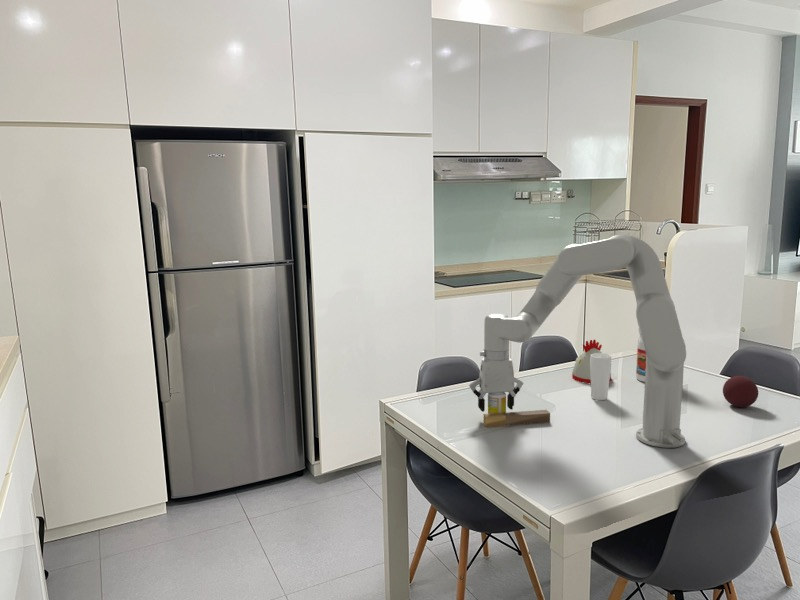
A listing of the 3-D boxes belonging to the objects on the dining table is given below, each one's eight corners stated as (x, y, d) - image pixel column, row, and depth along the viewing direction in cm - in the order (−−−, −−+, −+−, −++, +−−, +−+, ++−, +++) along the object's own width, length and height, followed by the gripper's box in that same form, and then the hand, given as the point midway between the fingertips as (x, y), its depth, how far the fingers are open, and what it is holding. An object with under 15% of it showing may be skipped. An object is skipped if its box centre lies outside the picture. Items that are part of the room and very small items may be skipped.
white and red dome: (564, 375, 229) (565, 337, 226) (594, 371, 234) (595, 334, 231) (588, 385, 216) (589, 345, 214) (618, 381, 221) (620, 341, 218)
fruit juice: (664, 378, 224) (668, 304, 219) (662, 384, 216) (666, 308, 211) (637, 375, 228) (641, 302, 224) (634, 381, 220) (638, 307, 215)
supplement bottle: (503, 414, 188) (503, 383, 186) (507, 421, 183) (508, 389, 181) (486, 415, 188) (486, 384, 186) (489, 421, 182) (490, 389, 181)
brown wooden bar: (550, 422, 181) (550, 413, 180) (486, 427, 178) (486, 417, 178) (546, 419, 184) (546, 409, 183) (483, 423, 181) (483, 414, 181)
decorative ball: (749, 414, 185) (752, 383, 184) (716, 406, 193) (718, 376, 191) (762, 406, 192) (764, 376, 190) (729, 399, 199) (731, 370, 198)
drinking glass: (607, 395, 205) (608, 353, 203) (611, 401, 199) (613, 358, 196) (586, 394, 206) (588, 352, 203) (591, 401, 199) (592, 357, 197)
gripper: (472, 359, 177) (472, 415, 180) (528, 356, 179) (527, 411, 182) (465, 353, 184) (465, 406, 187) (519, 350, 187) (518, 403, 189)
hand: (496, 408), depth 185 cm, fingers open, 8 cm apart
